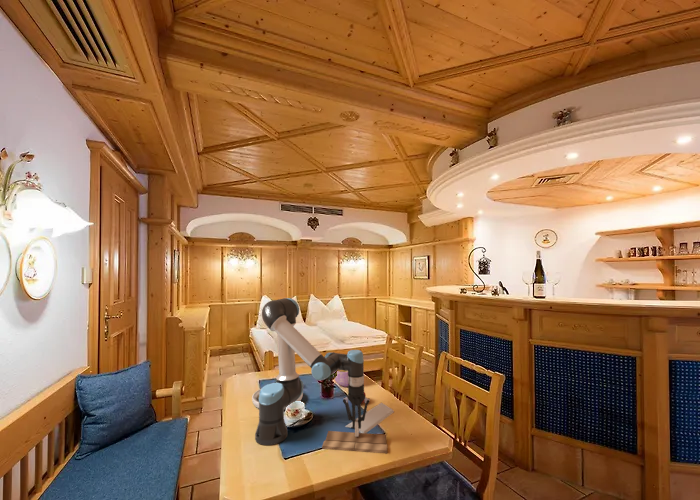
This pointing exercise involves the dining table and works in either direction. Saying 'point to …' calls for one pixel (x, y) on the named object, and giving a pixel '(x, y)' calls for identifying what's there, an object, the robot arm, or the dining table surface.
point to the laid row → (355, 446)
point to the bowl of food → (342, 378)
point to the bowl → (256, 398)
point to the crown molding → (373, 417)
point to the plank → (352, 438)
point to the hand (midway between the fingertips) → (357, 434)
